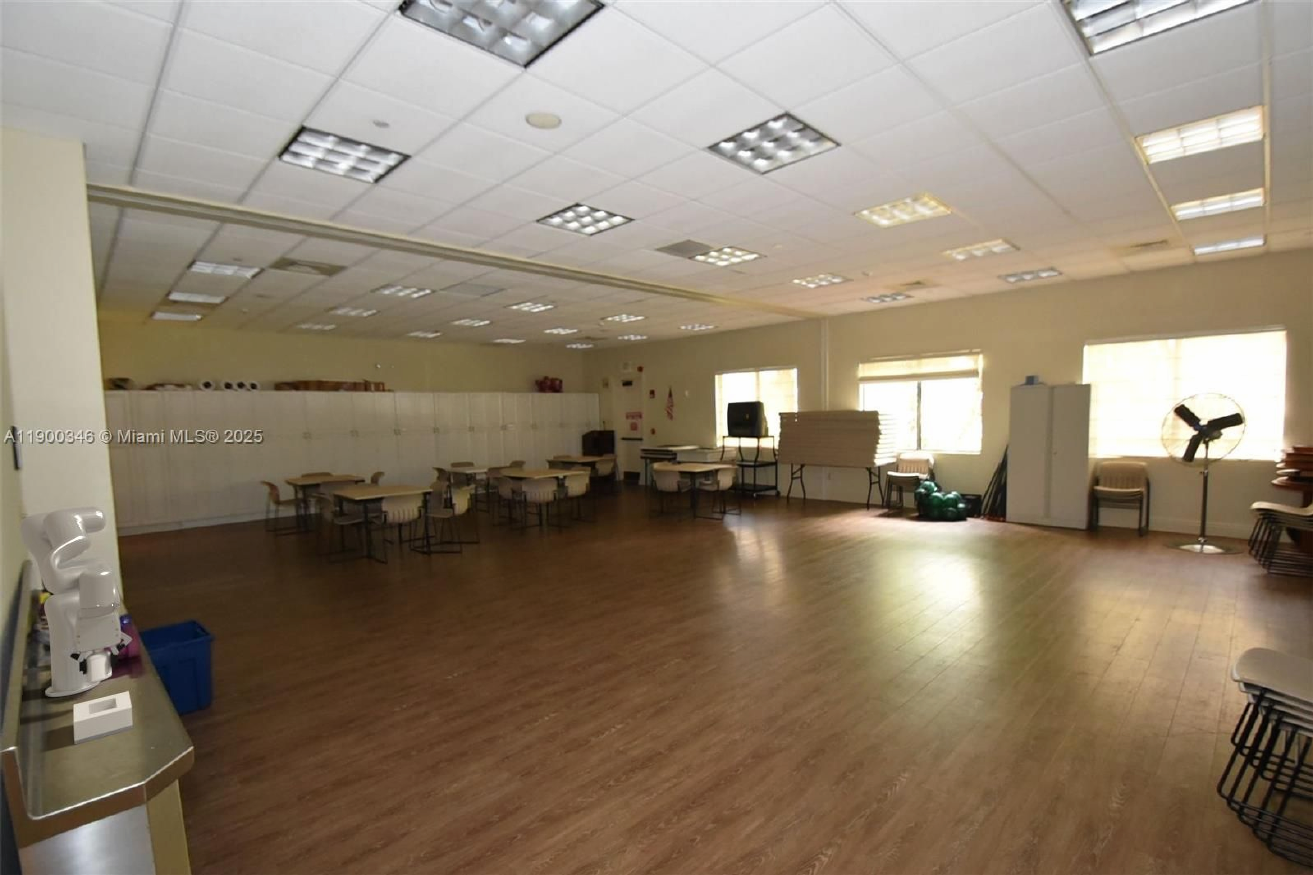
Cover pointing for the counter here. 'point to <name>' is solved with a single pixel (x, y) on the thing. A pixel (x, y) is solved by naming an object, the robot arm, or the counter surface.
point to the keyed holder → (102, 717)
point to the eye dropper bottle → (98, 666)
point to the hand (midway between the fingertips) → (98, 669)
